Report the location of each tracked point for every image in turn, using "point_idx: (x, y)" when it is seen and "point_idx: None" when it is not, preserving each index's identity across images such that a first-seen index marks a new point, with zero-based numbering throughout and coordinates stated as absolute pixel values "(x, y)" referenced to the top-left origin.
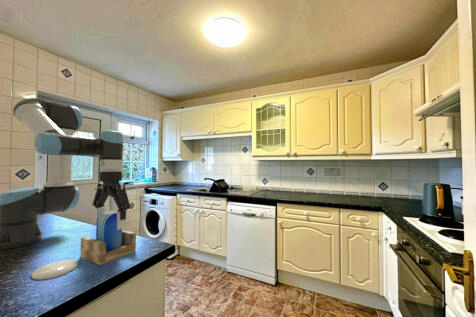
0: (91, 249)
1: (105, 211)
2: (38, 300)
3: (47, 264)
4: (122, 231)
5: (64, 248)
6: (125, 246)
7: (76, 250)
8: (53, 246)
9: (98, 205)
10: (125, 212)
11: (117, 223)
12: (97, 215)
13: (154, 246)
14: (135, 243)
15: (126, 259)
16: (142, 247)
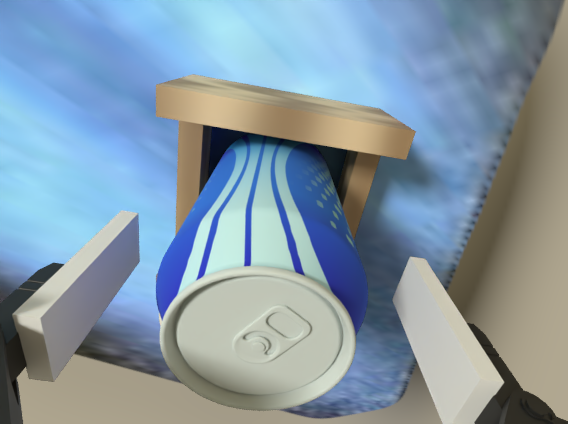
0: None
1: (169, 335)
2: (341, 393)
3: (160, 317)
4: (285, 136)
5: (3, 199)
6: (367, 175)
7: (85, 198)
8: None
9: (17, 399)
10: (516, 388)
11: (409, 332)
12: (101, 313)
13: (458, 8)
14: (391, 117)
15: (401, 197)
16: (388, 51)
